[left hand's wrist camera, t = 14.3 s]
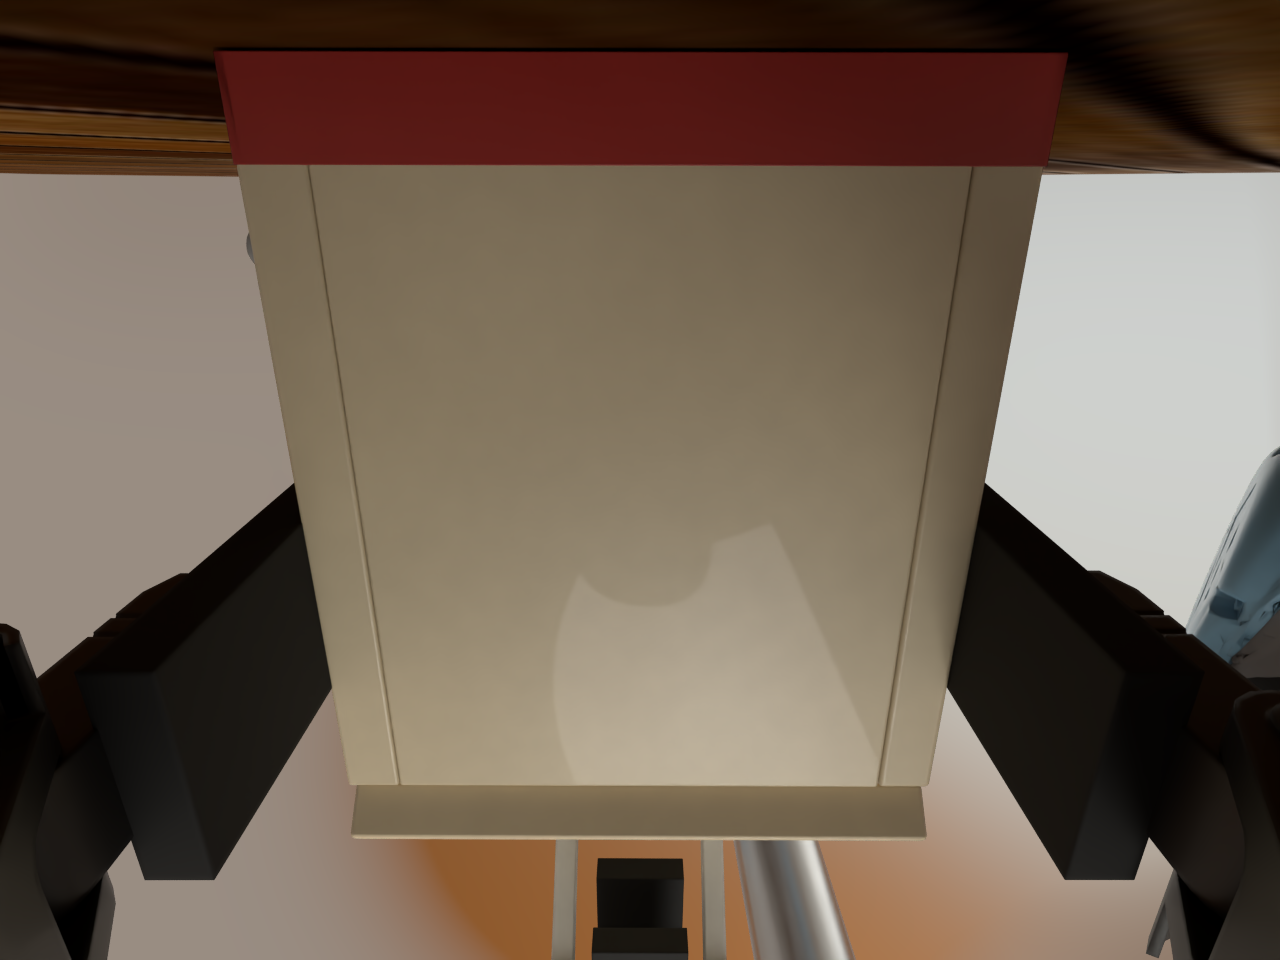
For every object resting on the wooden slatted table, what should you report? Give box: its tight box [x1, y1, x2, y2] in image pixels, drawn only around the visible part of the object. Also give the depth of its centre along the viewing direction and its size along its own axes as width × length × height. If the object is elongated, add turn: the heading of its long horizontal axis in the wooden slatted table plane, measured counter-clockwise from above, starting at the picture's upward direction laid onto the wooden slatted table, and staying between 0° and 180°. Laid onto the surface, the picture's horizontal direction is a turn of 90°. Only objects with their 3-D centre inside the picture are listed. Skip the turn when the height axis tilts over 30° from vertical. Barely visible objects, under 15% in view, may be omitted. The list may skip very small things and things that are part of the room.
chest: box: [213, 51, 1068, 787], centre depth 18 cm, size 17×9×10 cm, turn 0°
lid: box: [351, 783, 926, 960], centre depth 19 cm, size 18×9×8 cm
